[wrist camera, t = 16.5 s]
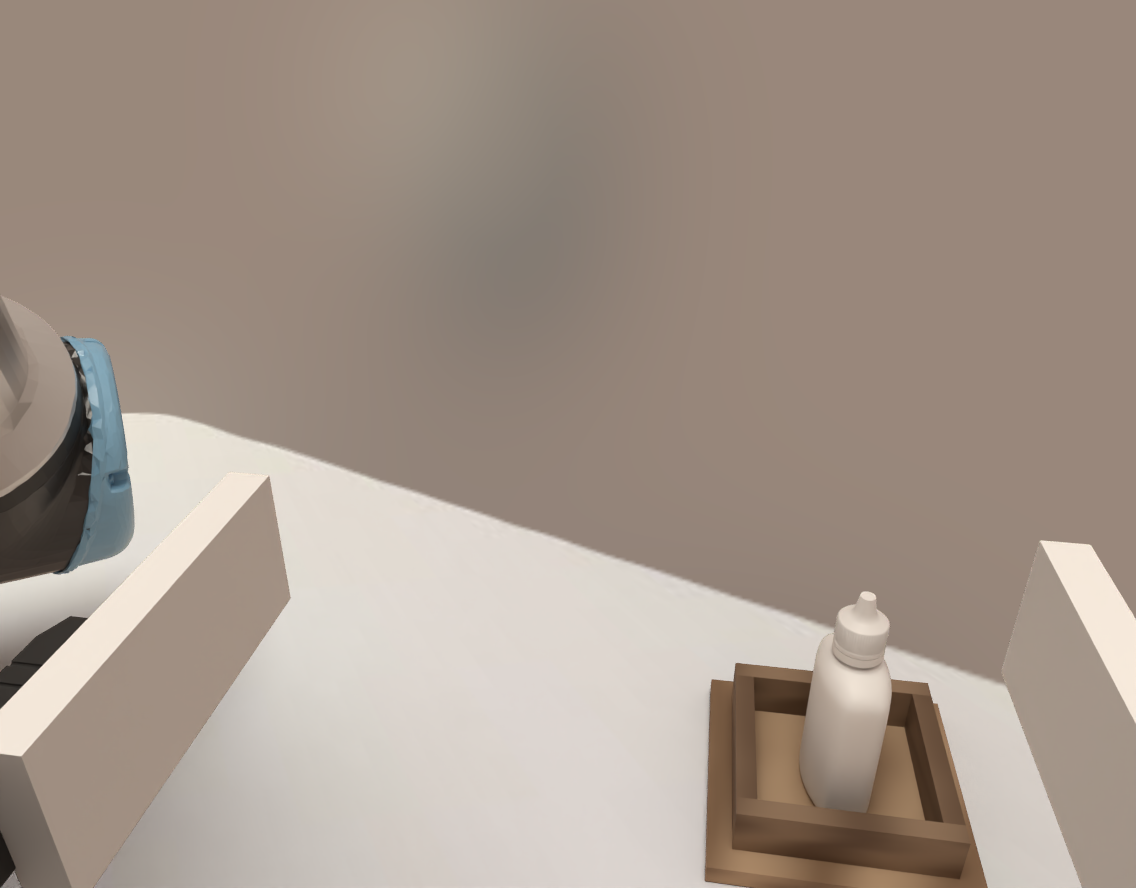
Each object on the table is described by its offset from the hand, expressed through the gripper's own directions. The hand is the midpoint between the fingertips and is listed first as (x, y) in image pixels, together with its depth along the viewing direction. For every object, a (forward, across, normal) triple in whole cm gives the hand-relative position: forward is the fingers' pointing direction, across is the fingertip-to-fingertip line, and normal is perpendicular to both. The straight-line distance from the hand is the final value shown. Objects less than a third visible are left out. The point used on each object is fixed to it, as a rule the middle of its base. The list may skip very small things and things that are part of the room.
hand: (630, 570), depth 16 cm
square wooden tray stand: (+23, +10, -30) cm, 39 cm away
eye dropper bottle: (+23, +10, -29) cm, 38 cm away
